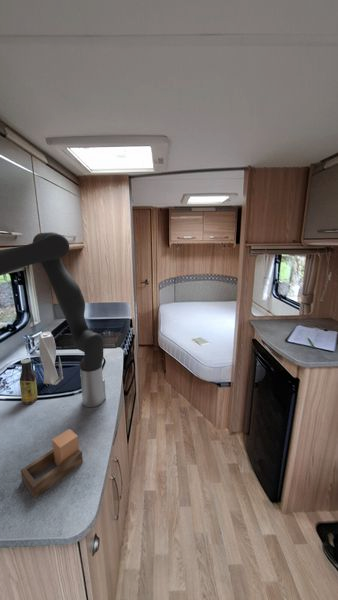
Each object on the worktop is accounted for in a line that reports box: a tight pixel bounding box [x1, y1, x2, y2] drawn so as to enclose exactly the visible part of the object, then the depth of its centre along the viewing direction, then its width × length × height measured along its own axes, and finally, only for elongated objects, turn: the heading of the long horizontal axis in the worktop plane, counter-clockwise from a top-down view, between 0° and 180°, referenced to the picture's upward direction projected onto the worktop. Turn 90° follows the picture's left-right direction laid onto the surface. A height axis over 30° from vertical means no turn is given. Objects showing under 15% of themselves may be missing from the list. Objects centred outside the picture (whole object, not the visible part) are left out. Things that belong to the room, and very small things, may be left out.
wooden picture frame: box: [20, 448, 84, 499], centre depth 77 cm, size 15×8×4 cm, turn 142°
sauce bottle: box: [19, 358, 38, 405], centre depth 109 cm, size 6×6×20 cm
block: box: [51, 428, 80, 467], centre depth 80 cm, size 6×5×9 cm
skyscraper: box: [38, 331, 65, 386], centre depth 123 cm, size 8×8×28 cm
